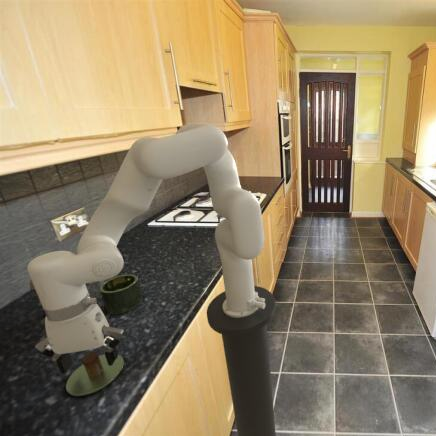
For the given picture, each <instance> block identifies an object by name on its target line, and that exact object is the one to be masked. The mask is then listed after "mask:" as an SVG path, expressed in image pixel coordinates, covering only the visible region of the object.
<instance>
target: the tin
mask: <svg viewBox="0 0 436 436" xmlns="http://www.w3.org/2000/svg"><path fill="white" fill-rule="evenodd" d="M118 289H121V290H118ZM99 292H100V294H101V298H102V301H103V304H104V307H105V309H106V312H107V313H108V314H110V315H122V314H125V313H129V312H131V311H133V310H134V309H135V310H136V308H138V307H139V306H140V305H141V304H142V303H143V301H144V296H143V293H142V289H141V285H140V282H139V278H138V276H137V275H135V274H121V275H116V276H114V277H112V278H110V279H107V280H105V282H103V283H102V284H101V285H100V287H99Z"/></svg>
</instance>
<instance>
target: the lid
mask: <svg viewBox="0 0 436 436" xmlns="http://www.w3.org/2000/svg"><path fill="white" fill-rule="evenodd" d="M81 362H82V364H81V365H80V366H78V368H76V369H75V370H74V371H73V372H72V373H71V374H70V376H69V377H68V379H67V380H66V384H65V389H66V393H68V394H69V395H70V396H73V397H85V396H89V395H92V394H94V393H97V392H99V391H101V390H103V389H104V388H106V387H108V385H110V384H111V383H113V381H115V380H116V378H118V376H119V375H120V374H121V372H122V371H123V368H124V365H125V360H124V357H122V355H120V354H118V357H117V359H115V361H114V363H113V365H111V366H109V365H108V362H107V360H106V357H105V353H104V354H100V355H99V353H98V352H96V351H92V352H90V353H87V354H86V355H85V356H84V357H83V358H82V361H81Z"/></svg>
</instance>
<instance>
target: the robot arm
mask: <svg viewBox="0 0 436 436" xmlns="http://www.w3.org/2000/svg"><path fill="white" fill-rule="evenodd" d="M228 145H229V144H228V138H227V136H226V134H225V133H224V131H223V130H222V129H221V128H220V127H218V126H215V125H212V124H209V123H205V124H204V123H187V124H184V125H182V126H180V127H179V129H178V130H177V132H176V133H175V134H170V135H166V136H162V137H151V136H147V137H141V138H138V139H136V140H135V141H134V142H133V143H132V144H131V146H130V147H129V149H128V152H126V155H125V157H124V160H123V161H122V163H121V166H120V167H119V170H118V172H117V174H116V176H115V177H114V179H113V181H112V183H111V185H110V187H109V189H108V191H107V193H106V195H105V197H104V198H103V199H102V201H101V202H100V204H99V205H98V206H97V208H96V210H94V213H93V214H92V216H91V217H90V219H89V221H88V223H87V225H86V227H85V229H84V231H83V233H82V235H81V237H80V239H79V242H78V244H77V247H76V254H75V253H73V252H71V251H70V250H69V251H68V250H56V251H55V250H54V251H51V252H50V251H49V252H47V253H43V254H41V255H38V256H36V257H34V258H32V259H31V260H30V261H29V262H28V264H27V269H26V270H27V272H28V275H29V278H30V281H31V280H32V283H33V285H34V287H35V290H36V292H37V294H38V297H39V299H40V301H39V303H40V302H41V303H40V304H41V306H42V308H43V311H44V314H45V317H44V326H45V327H44V328H45V334H46V337H44V338H43V339H41V340H40V341H38V342H37V343H36V344H35V346H34V348H35V349H36V350H37V351H39V352H40V353H42V355H43V356H46V357H48V358H50V360H51V361H52V362H55V363H56V365H57V367H58V369H59V371H60V373H61V375H65V374H66V373H68V370H69V369H70V368H71V366H73V363H74V362H73V359H72V356H71V353H77V352H83V351H90V350H95V349H101V350H103V351H104V354H105V357H106V360H107V362H108V365H109V366H111V365H113V363H114V361H115V359H117V357H118V355H119V352H118V349H117V346H118V345H119V344H120V341H121V340H122V338H123V336H124V332H125V330H124V329H122V328H117V327H112V326H110V324H109V322H108V319H107V317H106V316H105V314H104V312H103V311H102V309H101V307H100V306H99V304H97V302H98V300H97V297H92V296H91V295H90V293H89V291H88V288H87V285H86V284H91V283H98V282H103V281H108V280H109V279H112V278H114V277H117V276H118V275H119V274H120V273H121V271H122V270H123V268H124V265H125V263H124V262H125V261H124V258H123V255H122V254H121V252H120V250H119V248H118V247H117V246H118V244H119V242H120V239H121V237H122V236H123V234H124V232H125V230H126V228H127V227H128V225H129V224H130V223H131V222H132V220H133V219H135V218H136V217H138V216H141V215H143V214H144V213H146V212H147V211H148V210H149V209H150V207H151V204H152V202H153V200H154V198H155V196H156V195H157V192H158V191H159V187H160V186H161V184H162V182H163V180H168V179H169V180H170V179H173V178H176V177H180V176H182V175H185V174H188V173H191V172H193V171H195V170H199V169H201V168H203V170H204V172H205V176H206V179H207V185H208V189H209V195H210V200H211V205H212V209H213V210H214V212H215V213H216V214H217V215H218V216H220V217H222V218H224V219H221V220H220V222H219V223H218V224H217V225H216V226H215V230H214V241H215V244H216V248H217V250H218V254H219V258H220V263H221V272H222V279H223V286H224V291H225V294H226V300H225V301H224V303H223V311H224V313H225V314H226V315H228V316H230V317H234V318H241V317H246V316H248V315H251V314H253V313H254V312H255V311H256V310H257V309H258V308H261V309H264V308H265V303H264V302H265V299H264V298H259V297H258V292H255V290H254V286H255V280H254V270H253V260H254V259H255V258H257V257H258V256H260V254H261V253H262V251H263V249H264V246H265V232H264V223H263V222H264V221H263V215H262V208H261V205H260V202H259V199H258V198H257V196H256V195H255V194H254V193H252V192H250V191H249V190H247V189H243V188H242V186H241V182H240V178H239V172H238V168H237V164H236V161H235V158H234V156H233V154H232V153H231V151H230V150H229V149H228ZM262 302H263V303H262ZM105 342H106V343H105Z"/></svg>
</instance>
